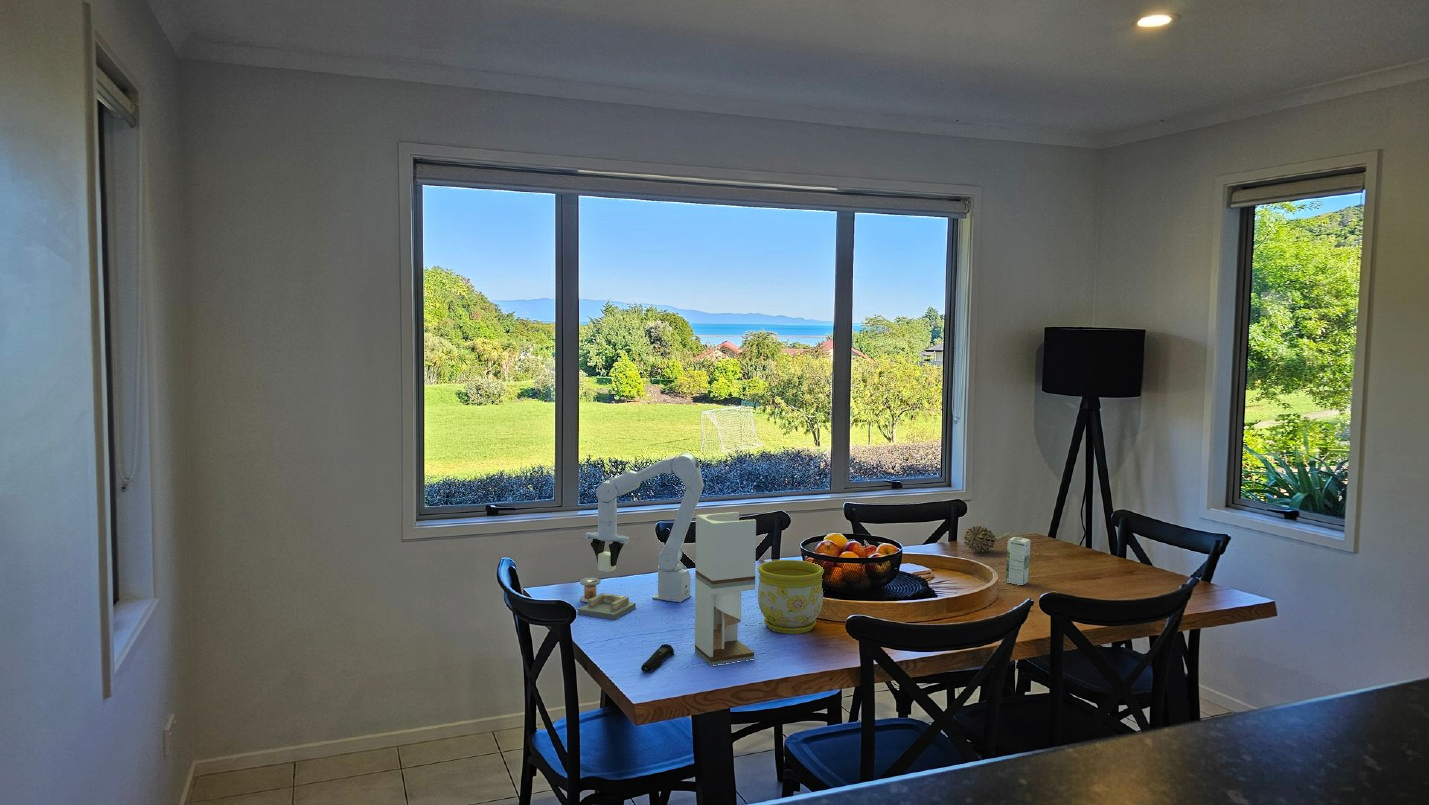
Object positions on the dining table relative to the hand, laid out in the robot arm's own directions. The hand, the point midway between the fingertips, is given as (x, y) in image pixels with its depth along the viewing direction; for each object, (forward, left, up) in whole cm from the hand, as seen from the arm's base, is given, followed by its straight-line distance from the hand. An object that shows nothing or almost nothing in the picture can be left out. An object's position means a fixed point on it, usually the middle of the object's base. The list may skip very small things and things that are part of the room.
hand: (607, 564), depth 279 cm
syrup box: (-113, -69, -9) cm, 132 cm away
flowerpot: (-61, +4, -9) cm, 61 cm away
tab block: (0, 0, -2) cm, 2 cm away
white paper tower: (-54, +33, -9) cm, 64 cm away
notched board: (-9, +14, -9) cm, 19 cm away
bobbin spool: (+1, +7, -9) cm, 12 cm away
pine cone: (-98, -110, -9) cm, 147 cm away
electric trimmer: (-41, +44, -10) cm, 61 cm away
